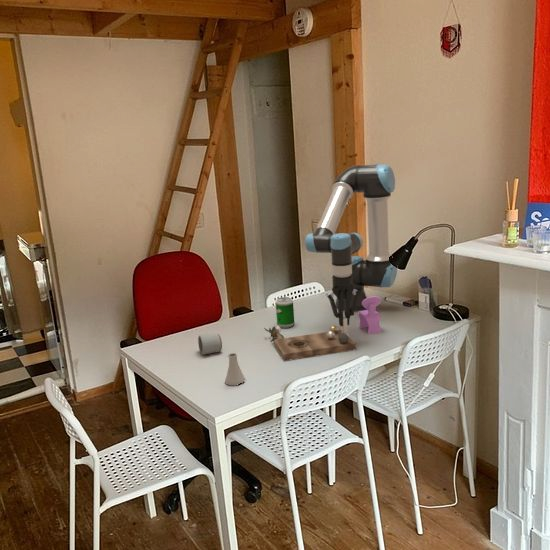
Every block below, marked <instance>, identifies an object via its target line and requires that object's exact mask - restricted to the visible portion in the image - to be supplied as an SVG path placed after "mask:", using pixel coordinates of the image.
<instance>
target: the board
mask: <svg viewBox="0 0 550 550" xmlns="http://www.w3.org/2000/svg"><path fill="white" fill-rule="evenodd" d="M328 332H329V331H325V332H319V333H318V332H317V333H311V334H304V335H297V336H292V337H291V336H290V337H284V338H283V339H276V338H275V339H273V346H274V348H275V349H276V351H277V353H278V354H279V353H280V354H279V355H280V357H281V358H282V360H283V359H284V360H286V361H291V360H290V359H292V360H297V359H296V358H299V359H303V358H311V357H317V355H318V356H323V355H330V353H331V354H336V353H341V352H343V353H344V352H349V350H350V351H355V350H354V349H356V348H357V347H356V346H357V345H356V342H355V341H354V340H353V339H352V338H351V337H350V336H348V341H347V342H346V343H341V342H340V341H339V339H338V337H339V335H340V334H342V329H337V332H336V333H335V337H334V338H333V339H329V338H328V337H327V333H328ZM356 350H357V349H356ZM284 360H283V361H284Z"/></svg>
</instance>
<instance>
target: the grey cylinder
mask: <svg viewBox="0 0 550 550" xmlns="http://www.w3.org/2000/svg"><path fill="white" fill-rule="evenodd" d="M197 342H198V350H199V353H200V355H201V356H204V355H209V354H213V353H219V352H220V351H222V349H223V341H222V337H221V335H220V334H219V333H206V334H199V335H198V338H197Z"/></svg>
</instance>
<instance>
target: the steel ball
mask: <svg viewBox="0 0 550 550" xmlns="http://www.w3.org/2000/svg"><path fill="white" fill-rule="evenodd" d="M327 332H328V333H327V337H328V338H329V339H333V338H334V337H335V333H334V332H333V331H330V330H329V331H327Z"/></svg>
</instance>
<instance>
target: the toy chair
mask: <svg viewBox="0 0 550 550" xmlns="http://www.w3.org/2000/svg"><path fill="white" fill-rule="evenodd" d="M381 301H382V300H381V297H379V296H377V295H372V296H368V297H367V298H366V299H364V300H363V301H362V306H363V307H364V308H366V309H364V310H359V311H358V317H359V318H358V319H359V326H358V329H363V328H368V331H367V335H372V334H377V333H382V332H383V330H382V329H381V326H380V320H381V315H380V314H381V313H380V312H378V311H376V308H377V306H379V304H380V303H381Z"/></svg>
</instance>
